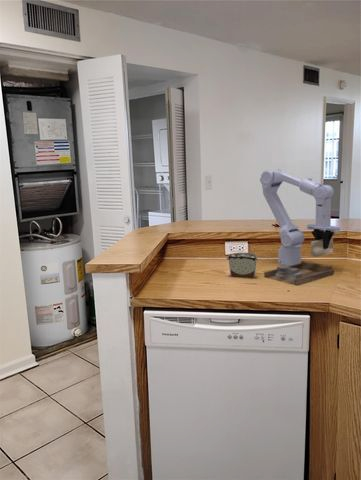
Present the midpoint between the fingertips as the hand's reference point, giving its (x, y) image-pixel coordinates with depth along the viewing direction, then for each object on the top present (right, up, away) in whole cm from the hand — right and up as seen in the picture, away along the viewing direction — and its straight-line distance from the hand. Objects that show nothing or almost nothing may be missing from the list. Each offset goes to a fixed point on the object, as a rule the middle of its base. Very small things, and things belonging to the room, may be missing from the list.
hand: (322, 248), depth 169 cm
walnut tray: (-12, -12, -7) cm, 18 cm away
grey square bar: (-17, -12, -10) cm, 23 cm away
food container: (-32, -12, -3) cm, 35 cm away
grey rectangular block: (0, -3, 0) cm, 3 cm away
